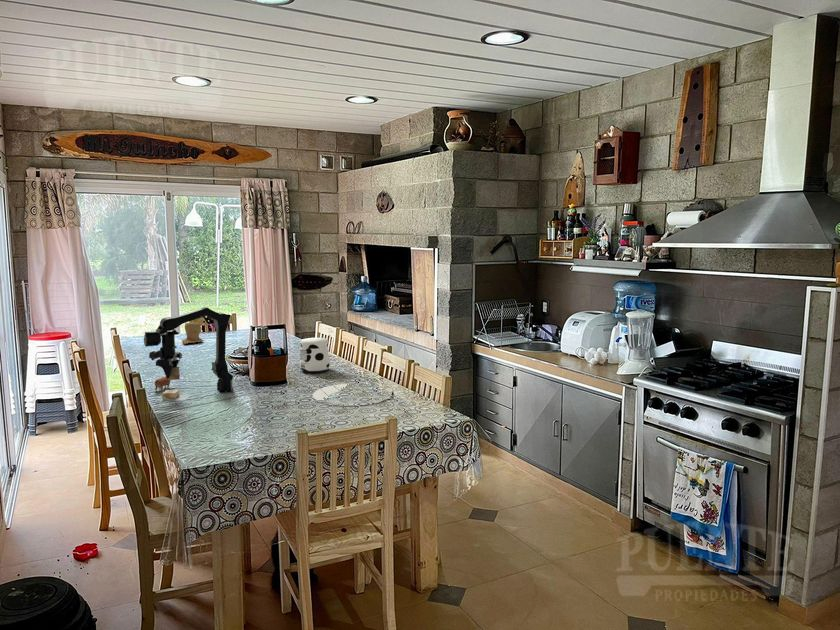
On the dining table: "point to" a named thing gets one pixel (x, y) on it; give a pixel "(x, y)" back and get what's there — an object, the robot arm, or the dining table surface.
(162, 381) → the bull figurine
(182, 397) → the mat
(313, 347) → the milk container
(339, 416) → the dining table surface
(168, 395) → the oak base block
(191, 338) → the stone cup
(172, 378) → the walnut cube
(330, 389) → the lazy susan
